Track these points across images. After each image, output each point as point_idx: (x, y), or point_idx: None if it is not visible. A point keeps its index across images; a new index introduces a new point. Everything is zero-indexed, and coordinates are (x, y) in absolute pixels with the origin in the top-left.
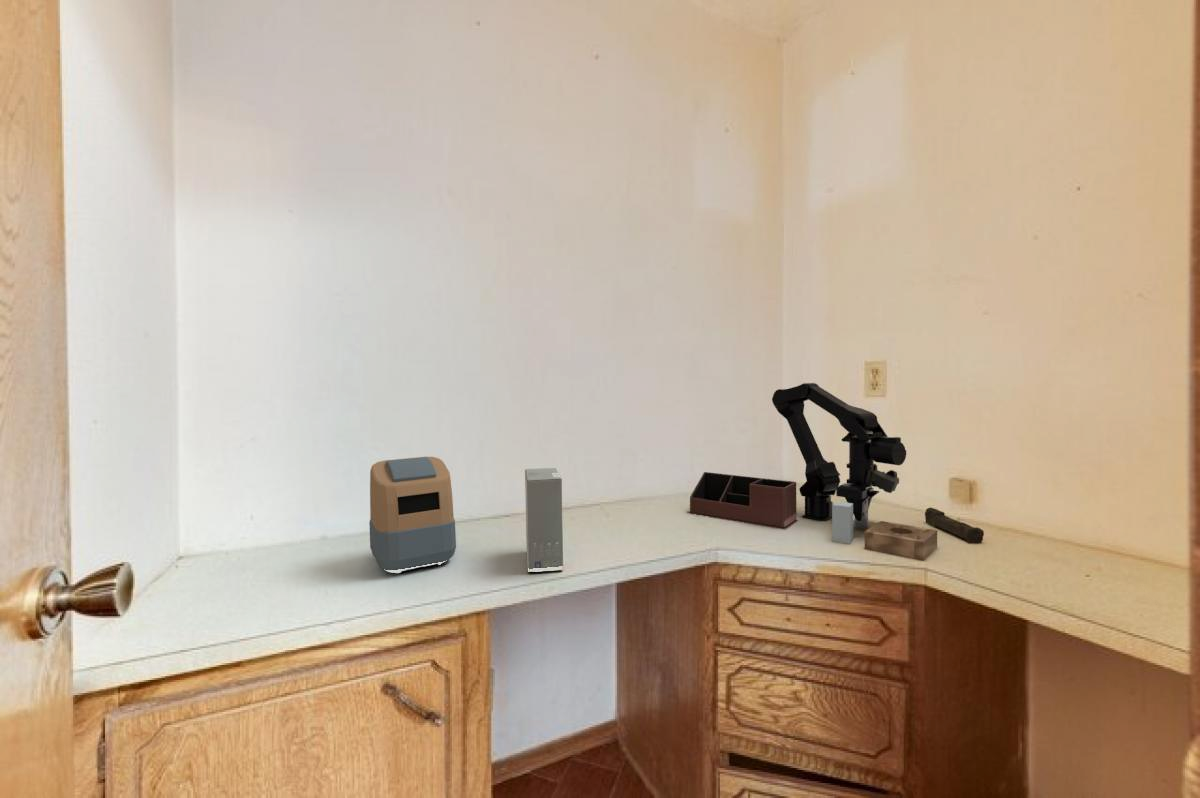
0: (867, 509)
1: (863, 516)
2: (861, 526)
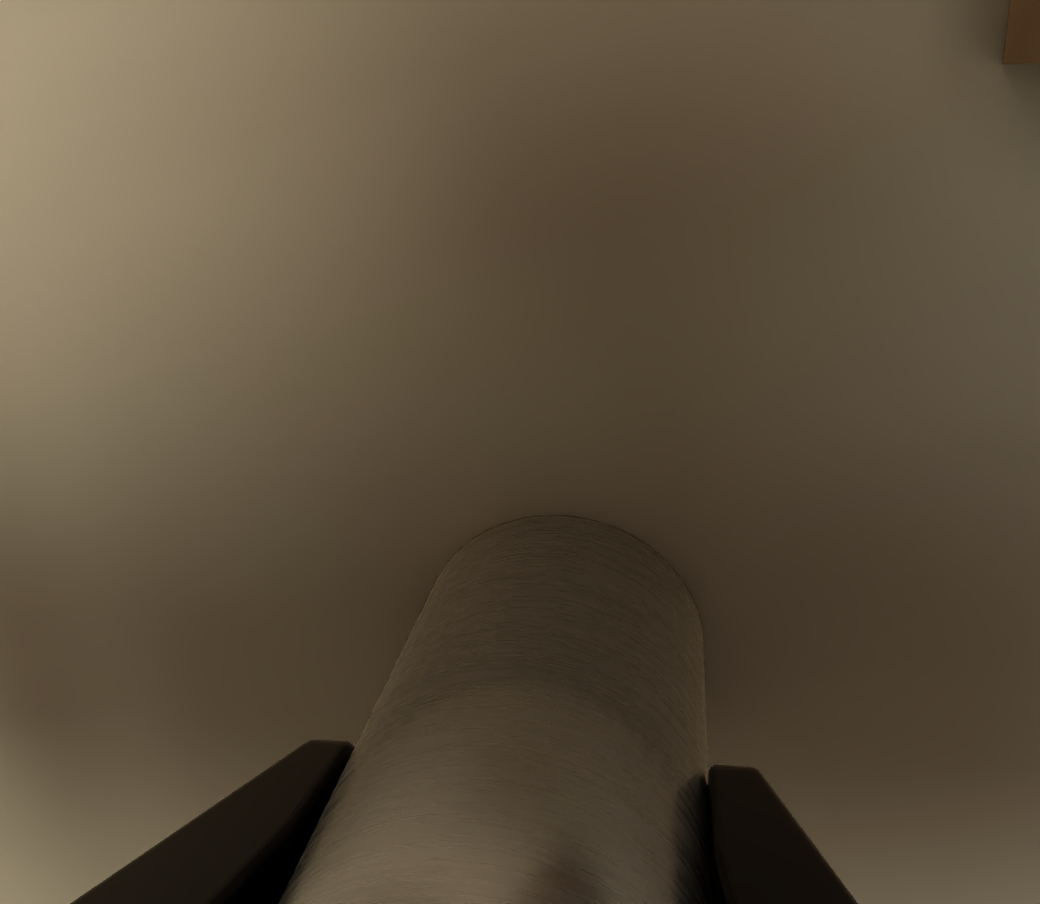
0: (485, 900)
1: (665, 801)
2: (696, 657)
